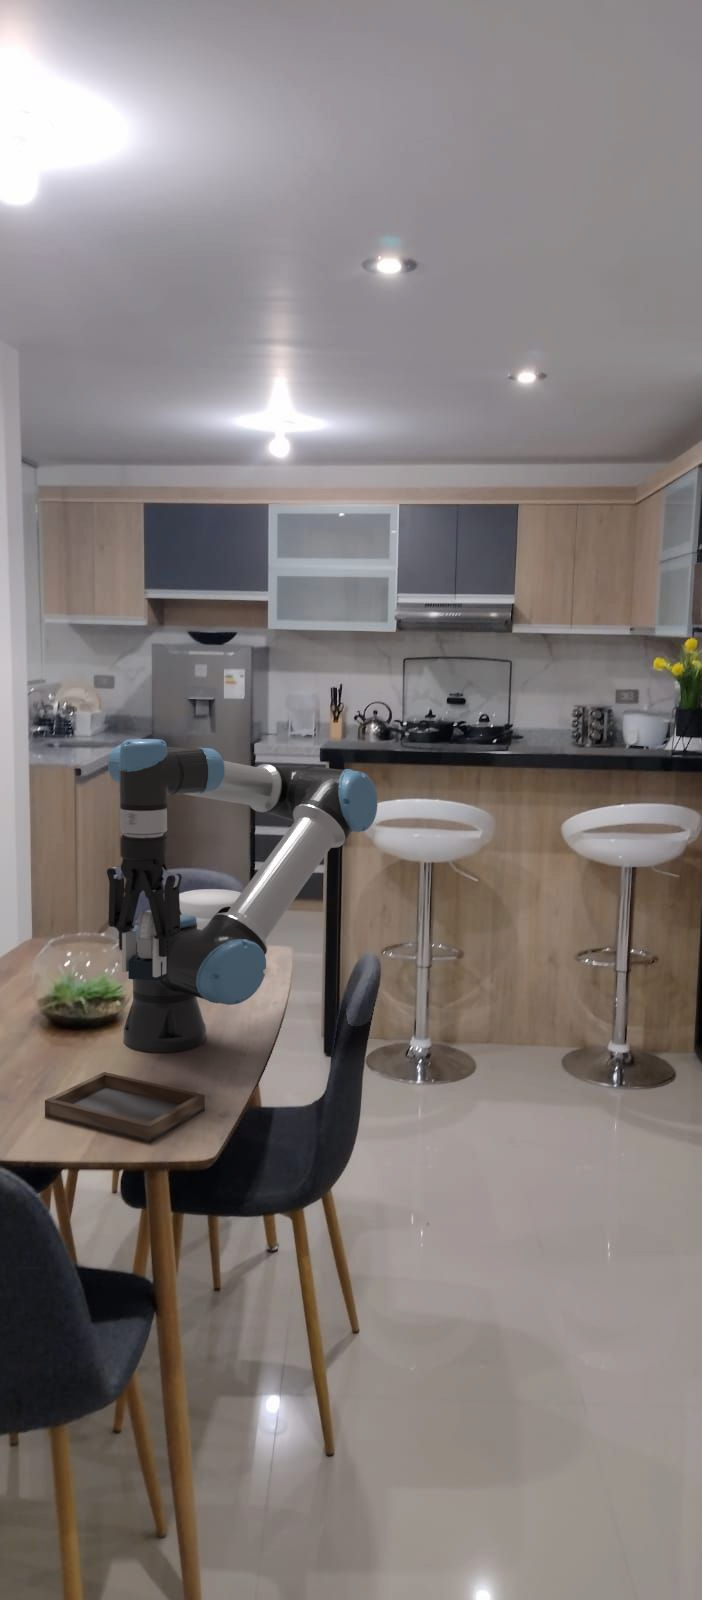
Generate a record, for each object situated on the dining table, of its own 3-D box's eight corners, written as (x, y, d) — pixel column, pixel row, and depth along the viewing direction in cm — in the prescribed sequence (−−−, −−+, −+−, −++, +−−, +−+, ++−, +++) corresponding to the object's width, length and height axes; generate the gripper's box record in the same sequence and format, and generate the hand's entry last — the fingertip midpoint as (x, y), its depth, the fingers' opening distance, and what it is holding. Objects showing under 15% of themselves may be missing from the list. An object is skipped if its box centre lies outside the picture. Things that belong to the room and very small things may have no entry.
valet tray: (104, 1087, 185) (104, 1071, 185) (204, 1110, 176) (204, 1094, 176) (44, 1116, 173) (44, 1100, 173) (149, 1143, 164) (149, 1126, 164)
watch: (169, 970, 191) (171, 907, 190) (159, 983, 183) (160, 917, 182) (136, 968, 191) (138, 905, 190) (125, 981, 183) (126, 915, 182)
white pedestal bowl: (170, 965, 261) (170, 888, 259) (245, 962, 264) (245, 887, 262) (173, 986, 244) (173, 904, 242) (253, 983, 247) (254, 902, 245)
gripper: (83, 832, 184) (85, 969, 187) (176, 842, 176) (176, 986, 179) (113, 826, 191) (114, 959, 194) (203, 835, 183) (203, 975, 185)
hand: (144, 972), depth 186 cm, fingers closed on watch, 5 cm apart
